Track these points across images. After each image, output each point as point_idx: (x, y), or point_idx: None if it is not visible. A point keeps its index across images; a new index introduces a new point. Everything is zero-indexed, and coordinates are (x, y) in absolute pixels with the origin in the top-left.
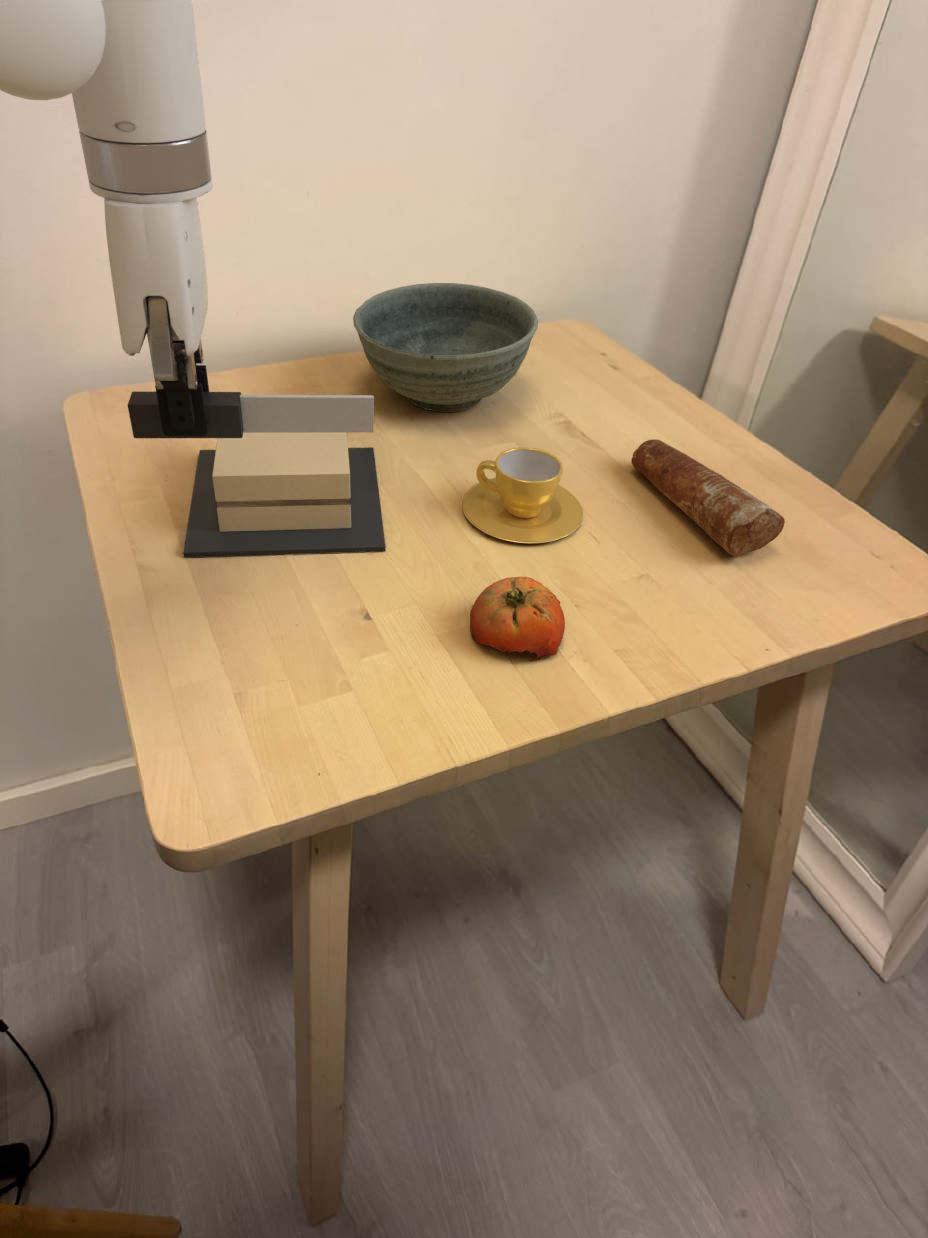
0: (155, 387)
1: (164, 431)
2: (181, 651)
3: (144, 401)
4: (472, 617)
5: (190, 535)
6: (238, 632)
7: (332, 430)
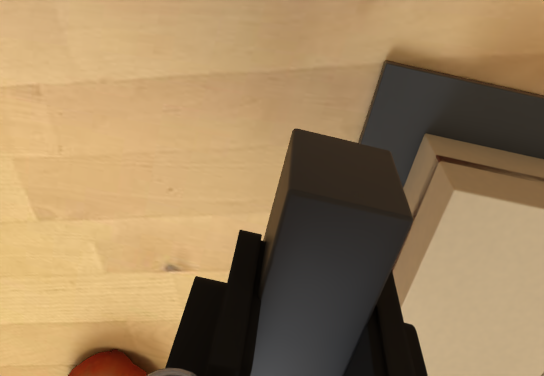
0: (212, 358)
1: (240, 235)
2: (136, 23)
3: (303, 250)
4: (115, 369)
5: (434, 83)
6: (167, 113)
7: None
